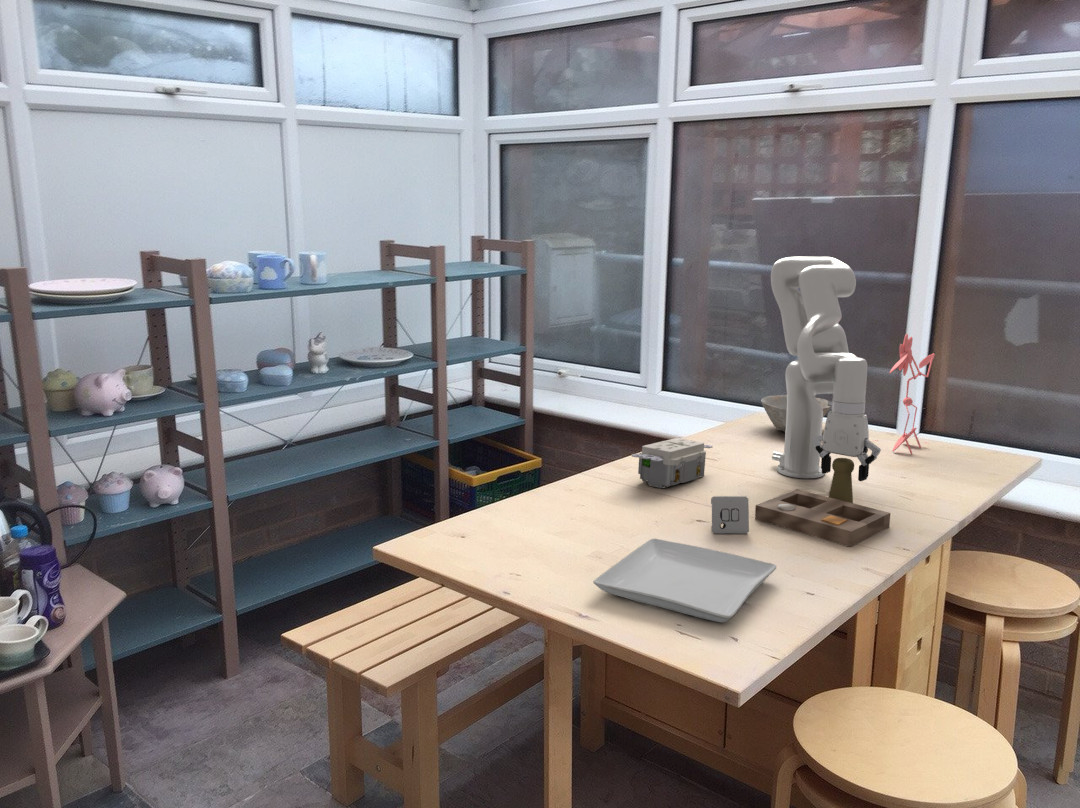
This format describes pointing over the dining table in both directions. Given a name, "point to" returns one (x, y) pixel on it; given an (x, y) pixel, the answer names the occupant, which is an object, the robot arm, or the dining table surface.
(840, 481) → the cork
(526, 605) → the dining table surface
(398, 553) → the dining table surface
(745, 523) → the electrical switch
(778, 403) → the ceramic bowl
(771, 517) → the socket board
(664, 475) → the electrical outlet
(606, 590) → the square plate
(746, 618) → the dining table surface
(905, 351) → the figurine
